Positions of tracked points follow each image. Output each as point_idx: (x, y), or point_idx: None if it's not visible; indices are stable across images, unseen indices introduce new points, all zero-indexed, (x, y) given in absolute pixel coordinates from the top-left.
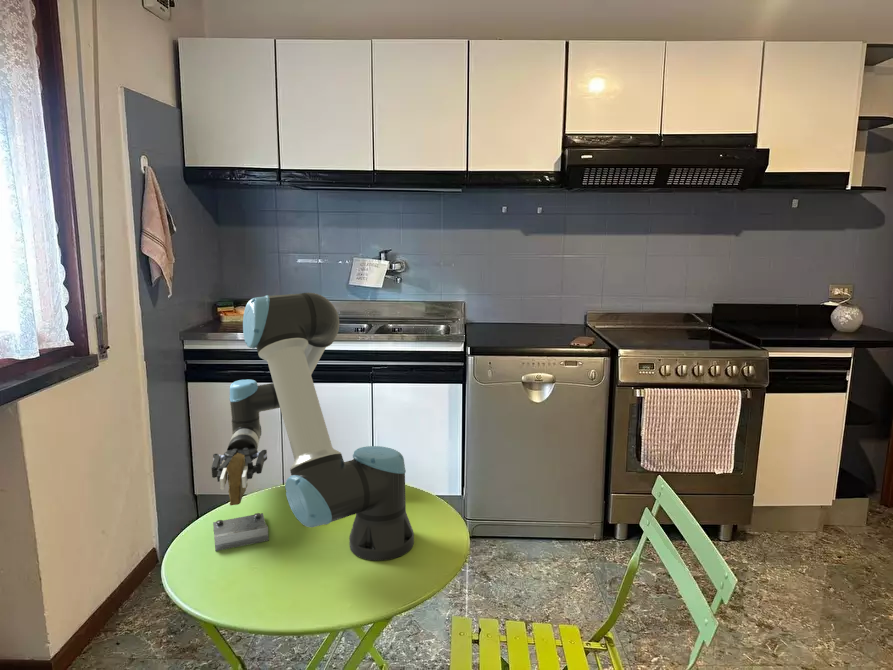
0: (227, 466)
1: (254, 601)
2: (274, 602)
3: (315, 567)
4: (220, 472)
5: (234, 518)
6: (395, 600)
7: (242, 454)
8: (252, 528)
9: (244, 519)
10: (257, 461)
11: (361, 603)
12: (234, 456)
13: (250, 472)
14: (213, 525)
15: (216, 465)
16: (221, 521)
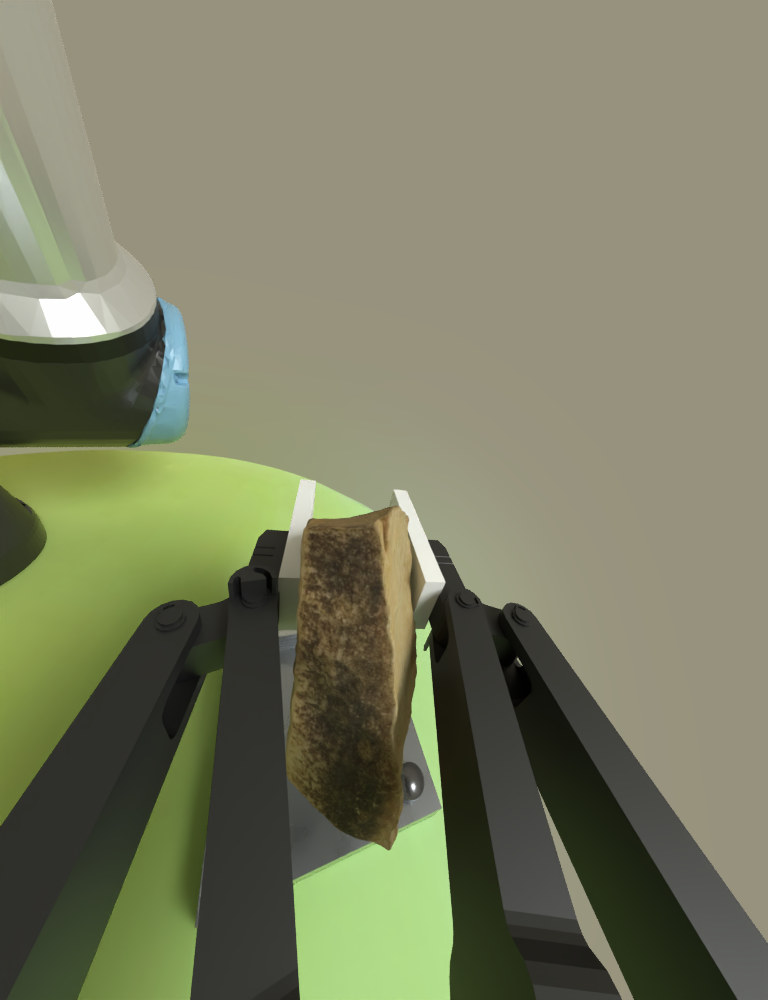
0: (406, 516)
1: (291, 497)
2: (265, 490)
3: (167, 531)
4: (445, 572)
5: (356, 845)
6: (100, 455)
7: (322, 526)
8: (280, 632)
9: (307, 818)
10: (152, 681)
11: (151, 463)
12: (386, 509)
13: (267, 539)
14: (427, 768)
15: (528, 647)
16: (403, 778)
